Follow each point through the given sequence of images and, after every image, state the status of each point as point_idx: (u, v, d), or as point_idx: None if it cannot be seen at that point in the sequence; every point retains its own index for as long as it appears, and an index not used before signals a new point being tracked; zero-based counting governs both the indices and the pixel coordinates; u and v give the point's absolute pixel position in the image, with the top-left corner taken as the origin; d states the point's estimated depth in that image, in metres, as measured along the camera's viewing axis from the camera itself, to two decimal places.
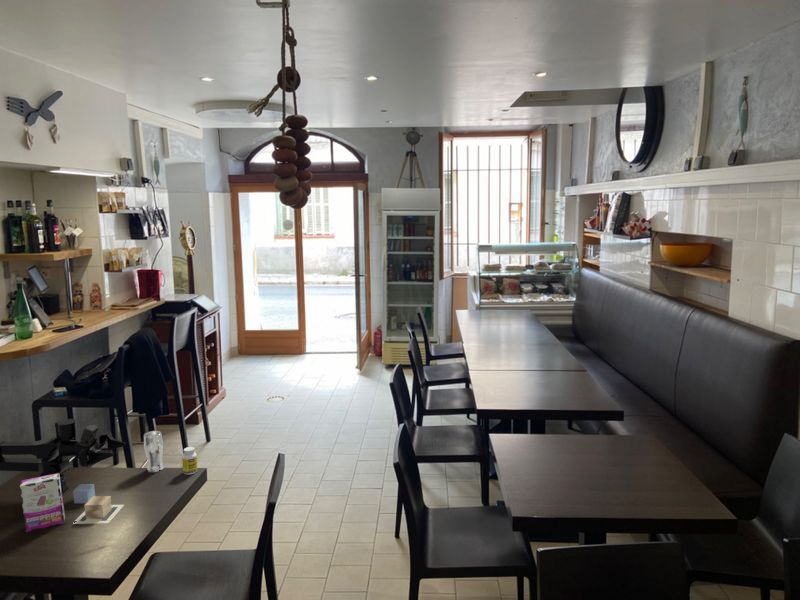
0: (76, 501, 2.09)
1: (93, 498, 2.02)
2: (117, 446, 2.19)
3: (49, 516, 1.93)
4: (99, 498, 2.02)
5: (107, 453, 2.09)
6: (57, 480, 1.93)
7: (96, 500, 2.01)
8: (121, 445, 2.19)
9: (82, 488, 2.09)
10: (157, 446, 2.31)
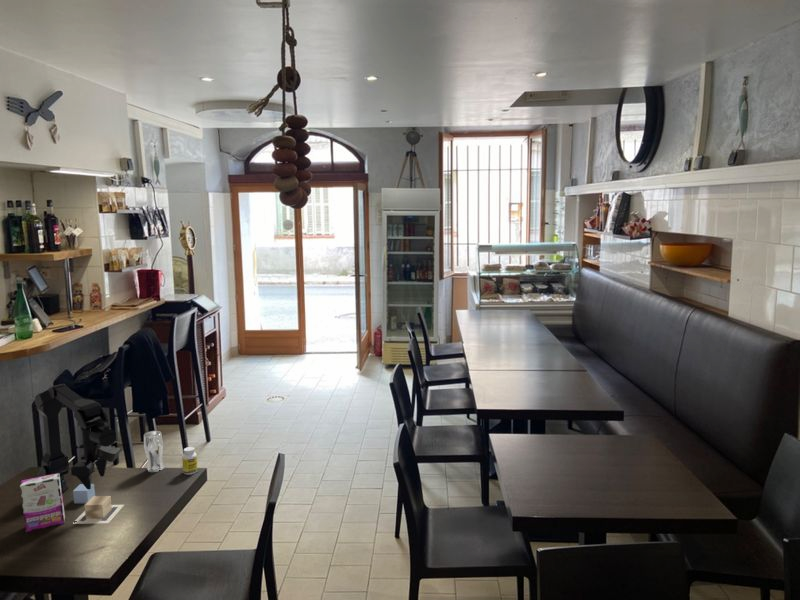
0: (76, 501, 2.09)
1: (93, 498, 2.02)
2: (98, 468, 2.04)
3: (49, 516, 1.93)
4: (99, 498, 2.02)
5: (89, 484, 1.94)
6: (57, 480, 1.93)
7: (96, 500, 2.01)
8: (100, 472, 2.04)
9: (82, 488, 2.09)
10: (157, 446, 2.31)
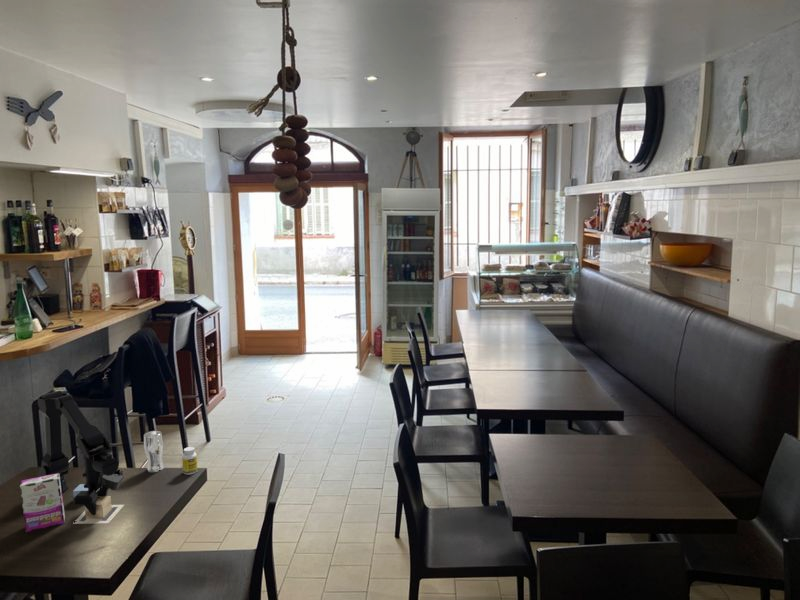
0: None
1: None
2: None
3: (49, 516, 1.93)
4: (99, 498, 2.02)
5: (94, 511, 1.97)
6: (57, 480, 1.93)
7: None
8: None
9: (82, 488, 2.09)
10: (157, 446, 2.31)
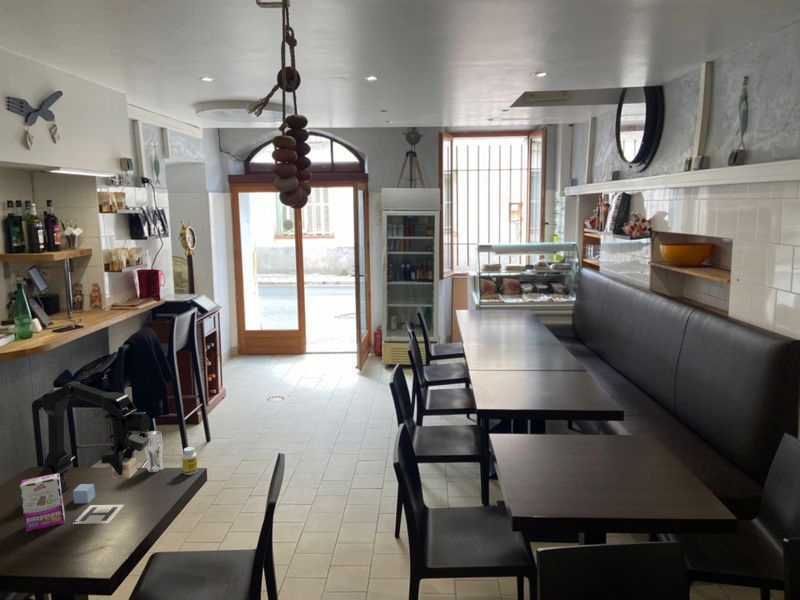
0: (76, 501, 2.09)
1: None
2: None
3: (49, 516, 1.93)
4: (125, 459, 2.10)
5: (120, 470, 2.05)
6: (57, 480, 1.93)
7: None
8: None
9: (82, 488, 2.09)
10: (157, 446, 2.31)
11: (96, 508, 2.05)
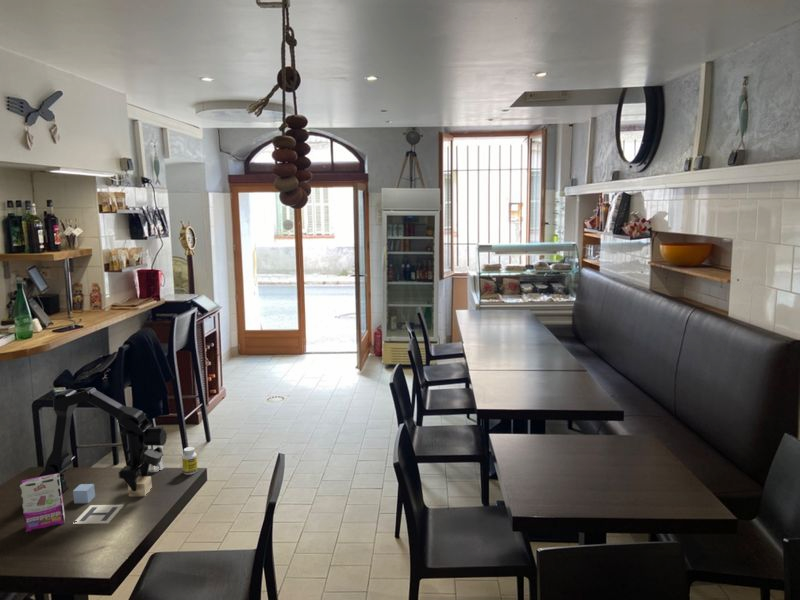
0: (76, 501, 2.09)
1: None
2: (141, 471, 2.20)
3: (49, 516, 1.93)
4: (141, 478, 2.17)
5: (135, 487, 2.11)
6: (57, 480, 1.93)
7: (138, 480, 2.16)
8: (143, 475, 2.20)
9: (82, 488, 2.09)
10: (157, 446, 2.31)
11: (96, 508, 2.05)
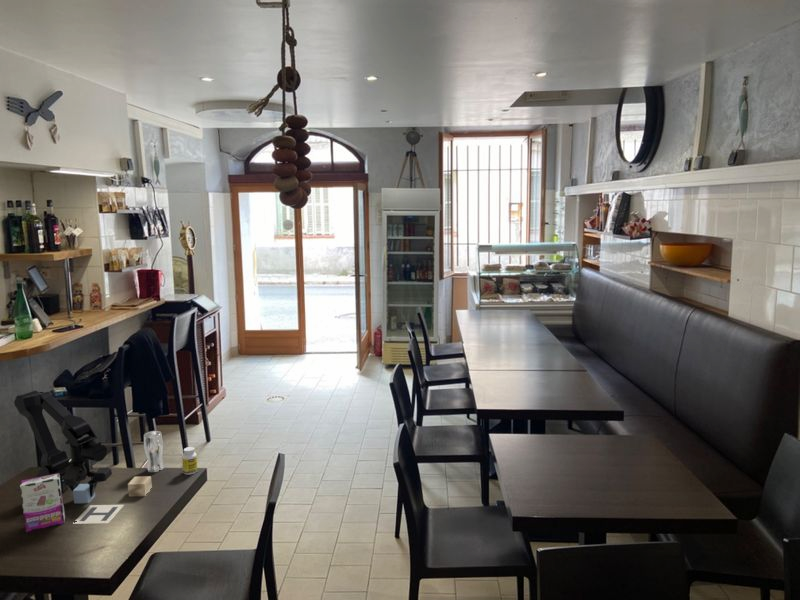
0: (76, 501, 2.09)
1: (135, 478, 2.17)
2: None
3: (49, 516, 1.93)
4: (141, 478, 2.17)
5: None
6: (57, 480, 1.93)
7: (138, 480, 2.16)
8: None
9: (82, 488, 2.09)
10: (157, 446, 2.31)
11: (96, 508, 2.05)
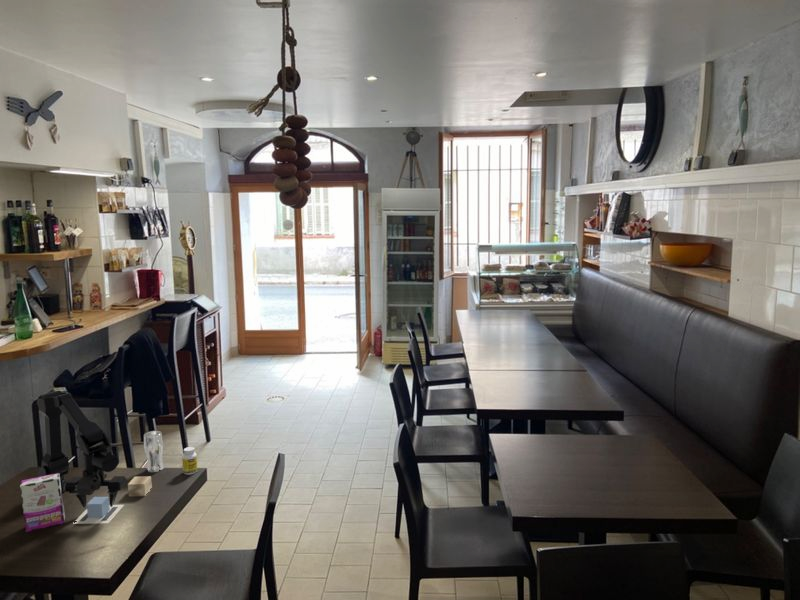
0: (90, 515, 1.99)
1: (135, 478, 2.17)
2: None
3: (49, 516, 1.93)
4: (141, 478, 2.17)
5: None
6: (57, 480, 1.93)
7: (138, 480, 2.16)
8: None
9: (96, 502, 2.00)
10: (157, 446, 2.31)
11: None
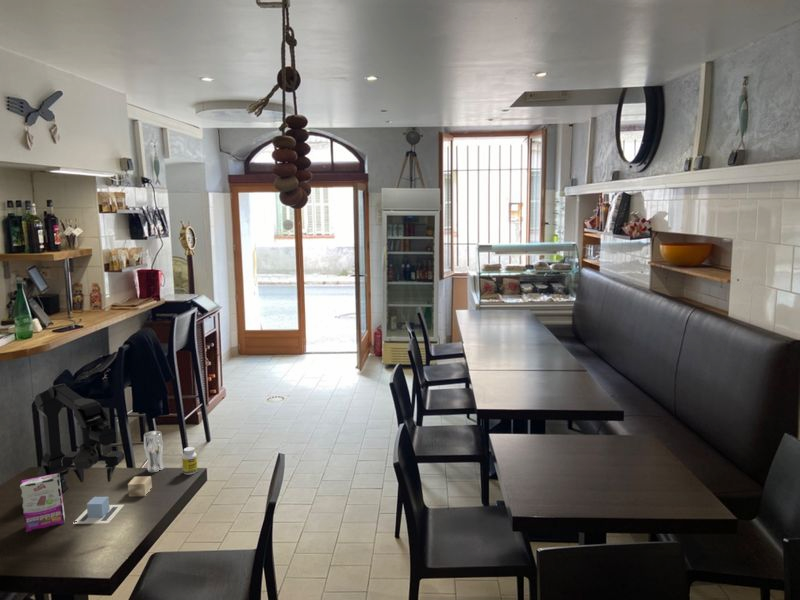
0: (90, 515, 1.99)
1: (135, 478, 2.17)
2: None
3: (49, 516, 1.93)
4: (141, 478, 2.17)
5: None
6: (57, 480, 1.93)
7: (138, 480, 2.16)
8: None
9: (96, 502, 2.00)
10: (157, 446, 2.31)
11: None
